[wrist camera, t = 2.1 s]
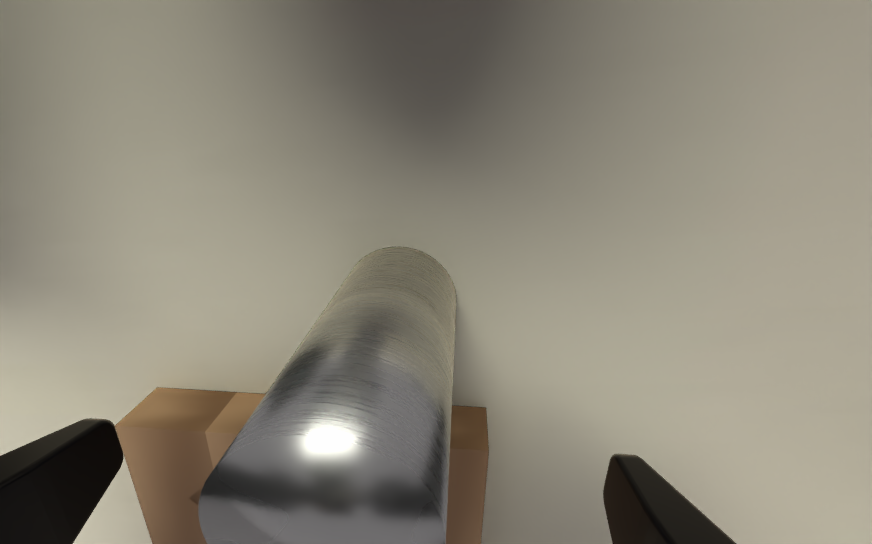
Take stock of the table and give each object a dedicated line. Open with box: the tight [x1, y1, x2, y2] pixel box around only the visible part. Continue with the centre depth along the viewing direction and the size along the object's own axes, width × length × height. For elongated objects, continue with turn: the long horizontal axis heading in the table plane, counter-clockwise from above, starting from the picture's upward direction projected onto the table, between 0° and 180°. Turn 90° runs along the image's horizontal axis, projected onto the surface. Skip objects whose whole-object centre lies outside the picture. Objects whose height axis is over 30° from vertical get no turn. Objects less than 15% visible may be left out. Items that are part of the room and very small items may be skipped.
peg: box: [198, 247, 456, 544], centre depth 10 cm, size 4×4×8 cm
